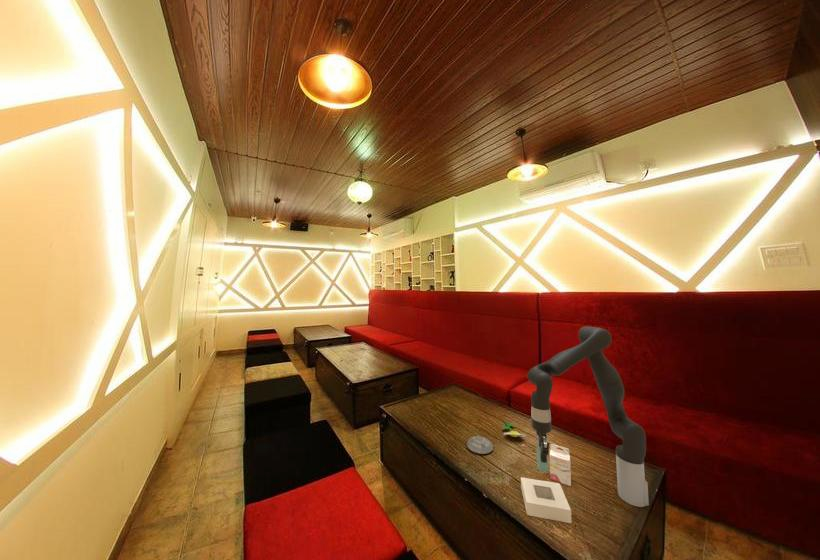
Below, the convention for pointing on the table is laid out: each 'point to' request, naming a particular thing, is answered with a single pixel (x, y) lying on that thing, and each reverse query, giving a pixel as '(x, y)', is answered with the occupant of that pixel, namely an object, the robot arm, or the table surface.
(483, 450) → the flying saucer
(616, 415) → the robot arm
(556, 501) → the socket board
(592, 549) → the table surface
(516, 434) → the decorative flower
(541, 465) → the peg
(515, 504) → the table surface
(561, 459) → the ink cartridge box
